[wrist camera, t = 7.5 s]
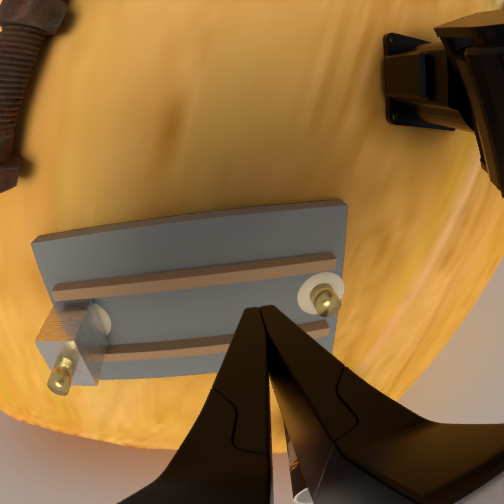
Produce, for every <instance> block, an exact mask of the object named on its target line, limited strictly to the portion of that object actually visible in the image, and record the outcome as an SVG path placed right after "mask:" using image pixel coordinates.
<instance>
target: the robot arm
mask: <svg viewBox="0 0 504 504" xmlns="http://www.w3.org/2000/svg"><path fill="white" fill-rule="evenodd" d="M434 30H435V32H436V34H437V37H440V39H441V41H442V42H437V43H430V42H427V41H423V40H419V39H416V38H412V37H408V36H404V35H400V34H395V33H388V34H386V35H385V36H384V49H385V58H384V72H385V94H386V117H387V121H388V122H389V123H390V124H394V125H403V126H414V127H424V128H433V129H441V130H449V131H454V130H455V129H460V130H464V131H468V132H472V133H475V135H476V139H477V143H478V147H479V151H480V155H481V159H480V162H481V166H482V168H483V169H484V170H485V171H486V172H487V173H488V175H489V178H490V181H491V182H492V183H493V184H494V185H495V186H496V187H497V188H498V189H499V190H500V191H501V195H502V197H503V198H504V9H503V10H495V11H488V12H481V13H476V14H473V15H469V16H466V17H463V18H460V19H457V20H454V21H451V22H448V23H445V24H442V25H440V26H437V27H434ZM390 37H391V38H392V39H393V43H392V42H391V41H390ZM393 115H395V117H396V118H395V120H393ZM269 377H270V381H271V384H272V387H273V390H274V393H275V396H276V399H277V402H278V405H279V408H280V411H281V414H282V417H283V420H284V422H285V425H286V428H287V431H288V434H289V437H290V440H291V443H292V445H293V448H294V451H295V454H296V457H297V460H298V462H299V465H300V468H301V471H302V474H303V476H304V479H305V482H306V485H307V488H308V490H309V493H310V496H311V499H312V501H313V504H504V423H503V424H446V423H437V422H433V421H430V420H427V419H425V418H423V417H421V416H419V415H417V414H416V413H414V412H412V411H411V410H409V409H407V408H406V407H404V406H402V405H401V404H399V403H397V402H396V401H394V400H393V399H391V398H389V397H388V396H386V395H385V394H383V393H381V392H380V391H379V390H377V389H376V388H374V387H373V386H371V385H370V384H368V383H367V382H366V381H364V380H363V379H362V378H360V377H359V376H358V375H356V374H355V373H354V372H353V371H351V370H350V369H349V368H348V367H345V365H344V364H343V363H342V362H341V361H339V360H338V359H337V358H336V357H335V356H333V355H332V354H331V353H330V352H329V351H327V350H326V349H325V348H324V347H323V346H321V345H320V344H319V343H318V342H317V341H315V340H314V339H313V338H312V337H311V336H310V335H308V334H307V333H306V332H305V331H304V330H302V329H301V328H300V327H299V326H298V325H297V324H295V323H294V322H293V321H292V320H291V319H290V318H288V317H287V316H286V315H285V314H284V313H283V312H281V311H280V310H279V309H278V308H277V307H276V306H274V305H265V306H260V308H258V307H250V308H245V309H244V311H243V313H242V316H241V318H240V321H239V323H238V325H237V328H236V330H235V333H234V335H233V338H232V340H231V342H230V345H229V347H228V350H227V352H226V355H225V357H224V359H223V362H222V364H221V367H220V369H219V371H218V374H217V376H216V379H215V381H214V383H213V386H212V389H211V390H210V393H209V395H208V397H207V400H206V402H205V404H204V406H203V408H202V410H201V412H200V414H199V416H198V418H197V420H196V421H195V423H194V425H193V427H192V428H191V430H190V432H189V433H188V435H187V436H186V438H185V439H184V441H183V443H182V444H181V446H180V447H179V449H178V450H177V452H176V454H175V455H174V457H173V458H172V460H171V461H170V463H169V464H168V466H167V467H166V469H165V470H164V471H163V472H162V474H161V475H160V476H159V477H158V478H157V479H156V480H154V481H153V482H152V483H150V484H149V485H147V486H146V487H144V488H142V489H141V490H139V491H138V492H136V493H134V494H132V495H131V496H129V497H127V498H126V499H124V500H122V501H121V502H119V503H117V504H274V497H273V467H272V438H271V411H270V387H269Z"/></svg>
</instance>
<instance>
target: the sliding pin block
mask: <svg viewBox="0 0 504 504" xmlns="http://www.w3.org/2000/svg"><path fill="white" fill-rule="evenodd" d="M35 343H36V345H37V347H38V349H39V351H40V352H41V354H42V356H43V358H44V359H45V361H46V363H47V365H48V366H49V368H50V370H51V371H52V372H51V375H50V378H49V380H48V383H47V385H48V388H49V389H50V390H51V391H52V392H54V393H55V394H58V395H61V396H65V395H67V394H68V392H69V389H70V386H71V385H76V386H97V385H98V381H99V377H100V373H101V369H102V365H103V361H104V358H105V354H106V350H107V347H108V343H109V341H108V339H107V336H106V334H105V331H104V329H103V326H102V324H101V321H100V319H99V316H98V314H97V311H96V308H95V306H94V303H93V300H92V298H89V299H78V300H66V301H56V303H55V305H54V306H53V308H52V310H51V312H50V313H49V315H48V317H47V319H46V321H45V323H44V324H43V326H42V328H41V330H40V332H39V334H38V336H37V338H36V340H35Z"/></svg>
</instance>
